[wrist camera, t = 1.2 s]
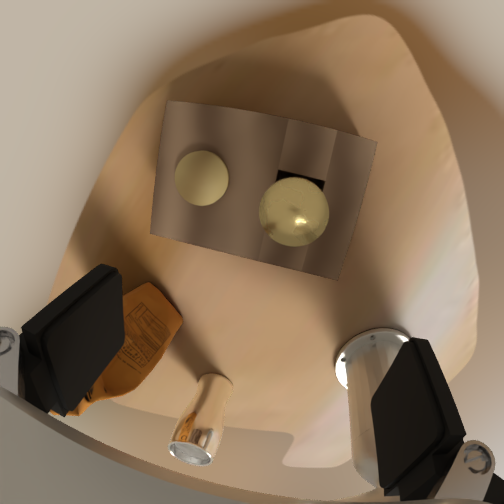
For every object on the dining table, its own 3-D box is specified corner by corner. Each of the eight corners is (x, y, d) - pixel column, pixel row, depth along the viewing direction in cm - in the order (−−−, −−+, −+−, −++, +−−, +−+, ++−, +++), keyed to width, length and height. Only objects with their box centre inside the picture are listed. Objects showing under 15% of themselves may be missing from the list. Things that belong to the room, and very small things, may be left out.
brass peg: (329, 175, 29) (336, 188, 22) (316, 226, 31) (318, 253, 24) (276, 162, 29) (266, 171, 22) (265, 213, 31) (252, 237, 24)
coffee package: (104, 301, 47) (20, 384, 27) (154, 271, 43) (59, 367, 23) (140, 347, 49) (73, 441, 29) (193, 325, 45) (127, 439, 25)
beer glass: (191, 387, 51) (161, 453, 37) (203, 364, 48) (172, 434, 34) (227, 404, 51) (205, 471, 37) (242, 382, 48) (221, 455, 34)
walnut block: (362, 140, 32) (379, 142, 24) (332, 251, 38) (338, 284, 30) (194, 106, 34) (163, 99, 26) (178, 214, 39) (146, 236, 31)
